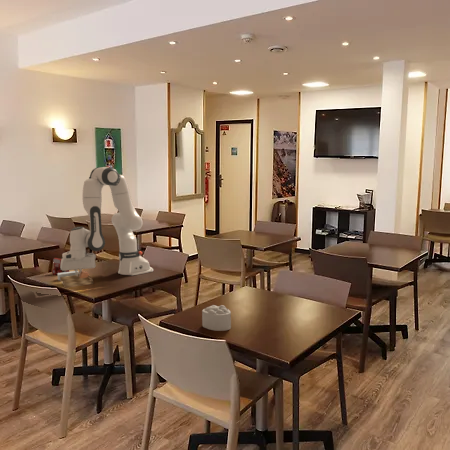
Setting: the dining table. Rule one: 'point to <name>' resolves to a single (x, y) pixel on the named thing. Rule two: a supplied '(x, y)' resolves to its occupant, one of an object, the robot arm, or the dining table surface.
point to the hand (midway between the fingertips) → (78, 276)
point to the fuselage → (66, 274)
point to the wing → (84, 274)
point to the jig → (75, 281)
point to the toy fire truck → (57, 266)
